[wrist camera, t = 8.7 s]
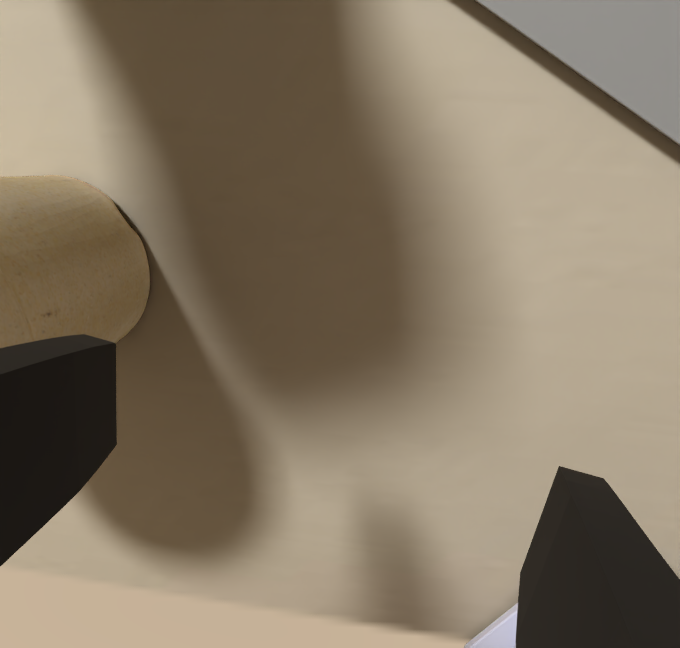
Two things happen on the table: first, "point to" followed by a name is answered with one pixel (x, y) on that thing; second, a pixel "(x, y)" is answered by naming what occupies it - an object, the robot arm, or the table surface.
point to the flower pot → (67, 262)
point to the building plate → (611, 48)
